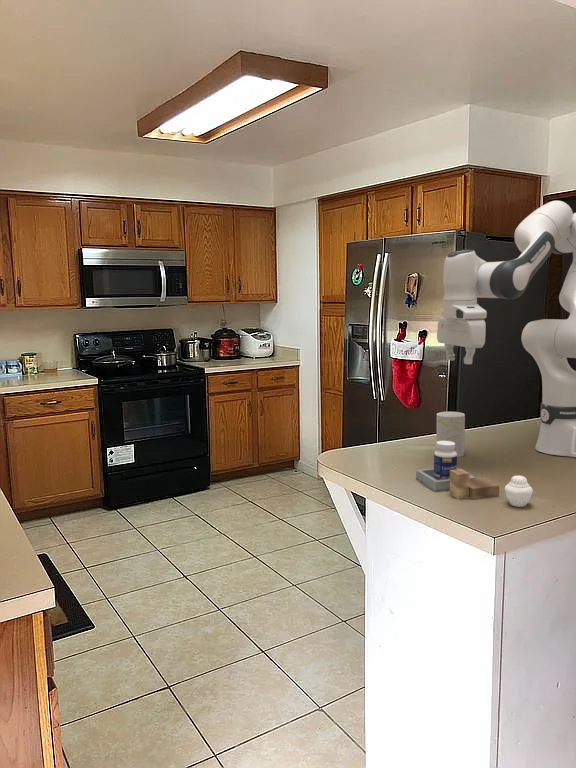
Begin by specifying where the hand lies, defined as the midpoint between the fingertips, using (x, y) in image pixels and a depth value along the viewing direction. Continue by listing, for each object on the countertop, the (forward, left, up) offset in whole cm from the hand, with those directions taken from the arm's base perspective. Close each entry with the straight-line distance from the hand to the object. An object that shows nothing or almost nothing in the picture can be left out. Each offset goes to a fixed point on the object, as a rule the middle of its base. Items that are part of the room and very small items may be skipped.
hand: (459, 362), depth 176 cm
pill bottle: (+11, +13, -29) cm, 33 cm away
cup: (-4, -12, -29) cm, 32 cm away
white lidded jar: (+3, +33, -29) cm, 45 cm away
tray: (+11, +13, -29) cm, 34 cm away
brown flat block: (+7, +23, -30) cm, 38 cm away
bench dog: (+12, +23, -29) cm, 39 cm away
